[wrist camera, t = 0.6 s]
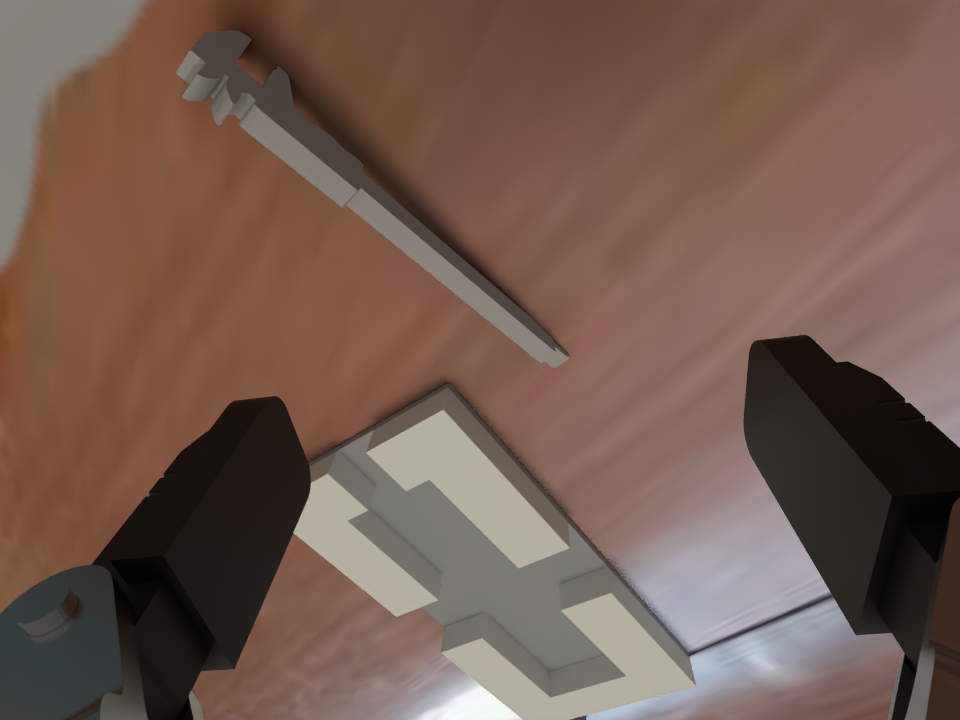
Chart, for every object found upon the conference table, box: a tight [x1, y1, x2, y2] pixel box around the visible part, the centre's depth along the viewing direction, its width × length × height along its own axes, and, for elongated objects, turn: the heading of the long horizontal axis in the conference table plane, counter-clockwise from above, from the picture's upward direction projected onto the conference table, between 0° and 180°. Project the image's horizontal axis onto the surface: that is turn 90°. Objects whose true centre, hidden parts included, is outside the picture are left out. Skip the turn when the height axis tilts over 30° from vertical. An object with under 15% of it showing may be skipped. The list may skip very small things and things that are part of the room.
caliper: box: [176, 30, 570, 368], centre depth 24 cm, size 21×1×6 cm, turn 44°
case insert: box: [293, 383, 696, 720], centre depth 39 cm, size 14×30×2 cm, turn 36°
